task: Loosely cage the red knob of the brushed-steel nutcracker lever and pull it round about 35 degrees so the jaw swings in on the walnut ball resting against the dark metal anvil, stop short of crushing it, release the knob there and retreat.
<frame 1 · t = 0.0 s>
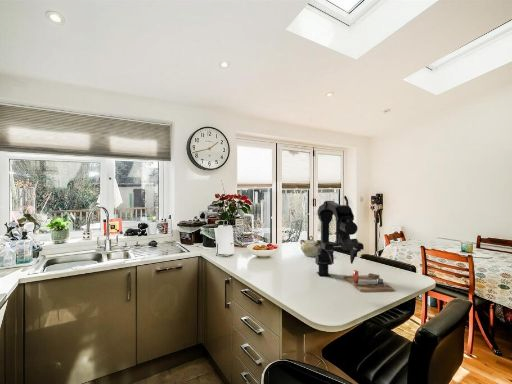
hand: (342, 263, 120), 15 cm above the countertop, fingers open, 9 cm apart
walnut: (371, 277, 135), point 3 cm above the countertop, touching cracker base
sugar bowl: (310, 255, 193), on the countertop
cracker base: (367, 283, 133), on the countertop
lever: (368, 277, 129), point 5 cm above the countertop, hinge at 0.0°
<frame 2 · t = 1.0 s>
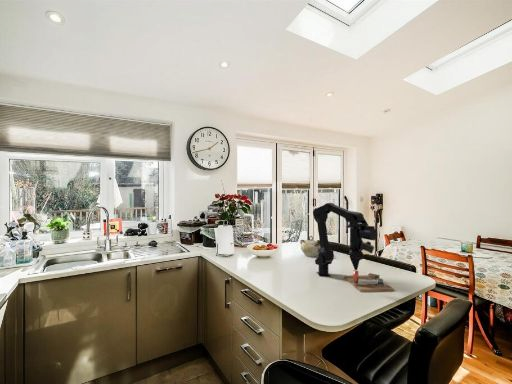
hand: (355, 267, 129), 10 cm above the countertop, fingers open, 9 cm apart
nothing on the countertop moved.
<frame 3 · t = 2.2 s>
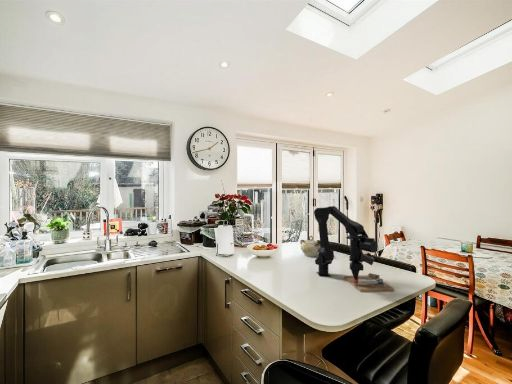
hand: (355, 278, 129), 4 cm above the countertop, fingers closed on lever, 2 cm apart
lever: (368, 277, 129), point 5 cm above the countertop, hinge at 0.0°, touching gripper
everything else where it was.
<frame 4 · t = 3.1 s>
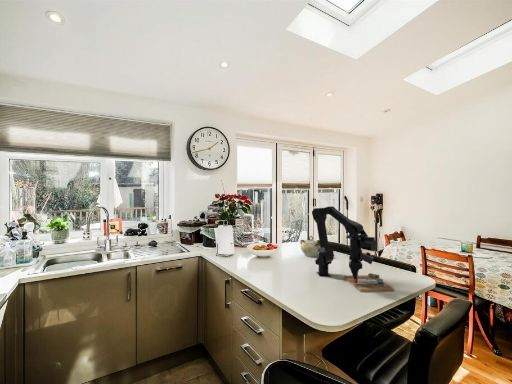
hand: (355, 277, 131), 4 cm above the countertop, fingers open, 5 cm apart
lever: (367, 277, 129), point 5 cm above the countertop, hinge at 3.8°, touching gripper
everything else where it was.
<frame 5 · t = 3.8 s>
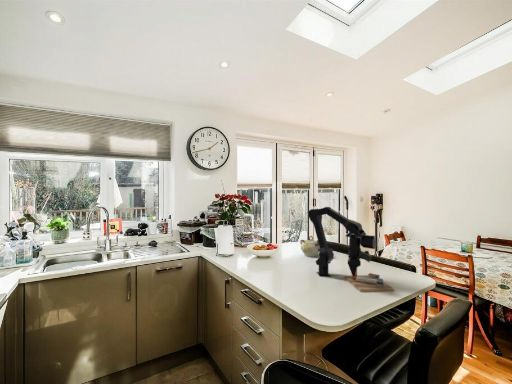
hand: (353, 274, 136), 4 cm above the countertop, fingers open, 5 cm apart
lever: (367, 275, 131), point 5 cm above the countertop, hinge at 25.3°, touching gripper
everything else where it was.
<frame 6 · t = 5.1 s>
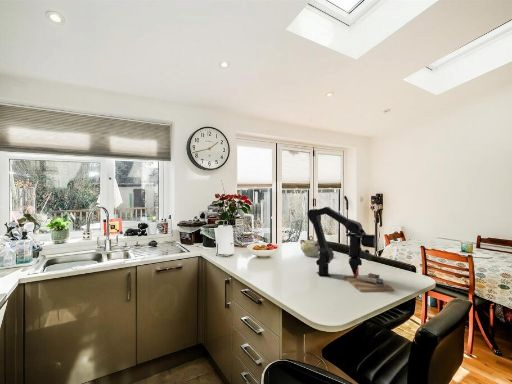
hand: (354, 273, 137), 4 cm above the countertop, fingers closed on lever, 2 cm apart
lever: (367, 274, 133), point 5 cm above the countertop, hinge at 40.6°, touching gripper
everything else where it was.
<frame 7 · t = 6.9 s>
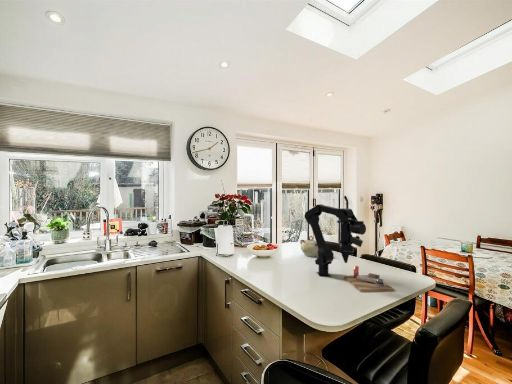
hand: (345, 260, 136), 12 cm above the countertop, fingers open, 9 cm apart
lever: (367, 274, 133), point 5 cm above the countertop, hinge at 40.7°
everything else where it was.
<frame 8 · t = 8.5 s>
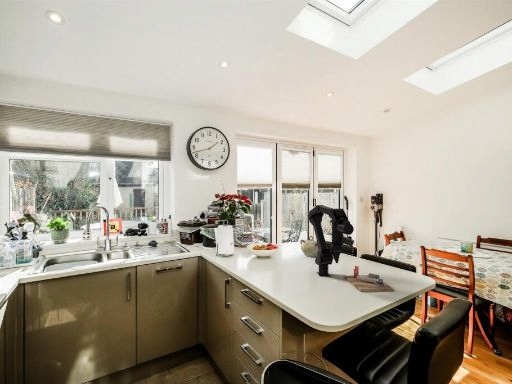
hand: (337, 260, 135), 12 cm above the countertop, fingers open, 9 cm apart
nothing on the countertop moved.
at the end: lever at +41° (first picture: +0°); walnut 0.0 cm from the target spot, point 3.1 cm above the countertop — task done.
